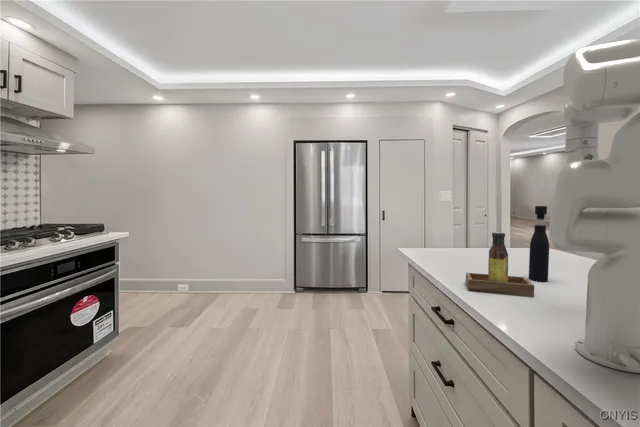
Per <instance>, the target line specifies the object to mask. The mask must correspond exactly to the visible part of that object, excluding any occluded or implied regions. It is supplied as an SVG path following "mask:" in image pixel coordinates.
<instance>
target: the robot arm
mask: <svg viewBox="0 0 640 427" xmlns="http://www.w3.org/2000/svg"><path fill="white" fill-rule="evenodd" d="M562 73H563V74H562V81H563V82H562V83H563V87H564V90H565V92H566V93H567V96H568V98H569V101H568V102H567V104H565V106H564V111H563V118H564V120H565V121H566V123H565V140H564V141H565V143H564V144H565V145H564V153H566V154H567V155H566V162H565V165H564V166H563V167H562V168H561V169H560V171H559V173H558V174H557V178H556V183H555V188H554V194H553V199H552V200H553V201H552V207H551V214H550V220H549V229H548V231H549V232H548V234H549V235H548V236H549V237H548V238H549V240H550V241H549V242H551V245H552V246H554V247H555V248H556V249H559V250H562V251H570V252H582V253H597V254H603V255H602V256H600V258H598V259H597V260H596V261H595V262H594V263H593V264H592V266H591V267H590V268H589V271H588V274H587V286H586V287H587V288H586V307H585V324H584V325H585V326H584V327H585V328H584V338H582V339H578V340H575V343H574V348H575V350H576V352H577V353H579V355H581V356H582V357H584V358H586V359H588V360H589V361H592V362H594V363H597V365H598V364H599V365H602V366H604V367H607V368H611V369H614V370H618V371H622V372H627V373H634V374H640V209H638V208H640V111H639V112H638V113H636V112H637V111H638V110H639V109H640V38H631V39H624V40H619V41H613V42H607V43H602V44H596V45H590V46H585V47H581V48H579V49H578V50H576V51H575V52H574V53H572V54H571V55H570V57H569V58H568V59H567V61H566V63H565V65H564V68H563V72H562ZM635 113H636V114H635ZM634 114H635V115H634ZM632 115H633V116H632ZM631 116H632V117H631ZM629 118H630V119H629ZM627 119H629V120H627ZM624 120H627V121H626V122H625V123H624V124H623V125H622V126H621V127H619V129H618V130H617V131H616V133H615V134H614V135H613V139H612V141H611V142H612V143H611V148H610V152H609V155H608V157H606V158H603V159H599V152H598V150H599V124H602V123H603V124H604V123H616V122H621V121H624Z"/></svg>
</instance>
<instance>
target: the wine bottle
mask: <svg viewBox="0 0 640 427" xmlns="http://www.w3.org/2000/svg"><path fill="white" fill-rule="evenodd" d="M534 214H535V215H536V220H535V225H534V229H533V230H534V231H533V234H532V237H531V239H530V243H529V257H528V258H529V259H528V260H529V261H528V262H529V263H528V280H529V279H530V280H529V281H532V280H533V281H532V282H536V281H537V283H547V282H548V281H549V262H550V260H549V259H550V241H549V237H548V235H547V225H546V221H545V218H546V216H545V215H547V214H548V206H547V205H535V207H534Z"/></svg>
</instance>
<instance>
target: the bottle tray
mask: <svg viewBox="0 0 640 427" xmlns="http://www.w3.org/2000/svg"><path fill="white" fill-rule="evenodd" d="M465 285H466V288H467V290H468V292H475V293H476V292H477V293H487V294H496V295H497V294H498V295H506V296H507V295H508V296H517V297H518V296H519V297H530V298H534V297H535V285H534V284H533V283H532V281H531V280H529V278H527V277H526V276H515V275H514V276H513V275H508V282H497V281H488V273H478V272H477V273H475V272H474V273H473V272H465Z"/></svg>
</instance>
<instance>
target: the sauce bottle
mask: <svg viewBox="0 0 640 427" xmlns="http://www.w3.org/2000/svg"><path fill="white" fill-rule="evenodd" d="M491 235H492V236H491V237H492V246H490V248H489V251H488V262H487V263H488V272H487V274H488V281H497V282H508V276H509V253H508V251H507V250H508V249H507V248H506V245H505V238H506V233H505V232H498V231H495V232H494V231H493V232H492V233H491Z"/></svg>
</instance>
